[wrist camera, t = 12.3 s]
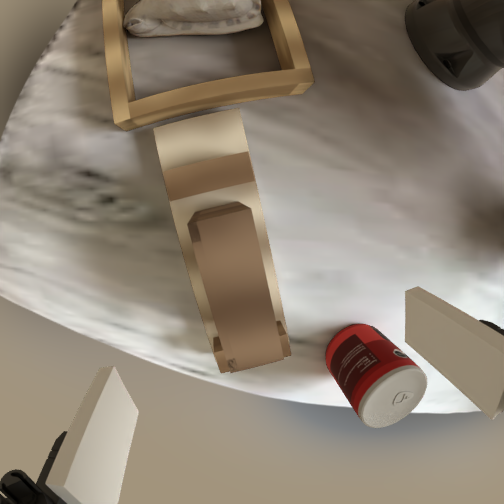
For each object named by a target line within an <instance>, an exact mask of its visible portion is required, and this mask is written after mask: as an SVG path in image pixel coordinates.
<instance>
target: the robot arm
mask: <svg viewBox="0 0 504 504" xmlns="http://www.w3.org/2000/svg"><path fill="white" fill-rule="evenodd" d="M405 21H406V27H407V31H408V34H409V36H410V39H411V41H412V43H413V45H414V47H415V49H416V51H417V52H418V54H419V55H420V57H421V58H422V60H423V61H424V62H425V64H426V65H427V66H428V67H429V69H430V70H431V71H432V72H433V73H434V74H435V75H436V76H437V77H438V78H439V79H440V80H442V81H443V82H444V83H446V84H447V85H449V86H450V87H452V88H454V89H457V90H461V91H467V90H471V89H475V88H478V87H480V86H482V85H483V84H484V83H485V82H486V81H487V80H489V79H490V78H491V77H492V76H493V75H494V74H495V73H497V72H498V71H499V70H500V69H501V68H504V0H416V1H414V2H413V3H412V4H410V5H409V6H408V8H407V10H406V15H405ZM405 342H406V343H407V344H408V345H409V346H410V347H412V348H413V349H414V350H415V351H416V352H417V353H418V354H420V355H421V356H422V357H423V358H424V359H425V360H426V361H428V362H429V363H430V364H431V365H432V366H433V367H434V368H435V369H437V370H438V371H439V372H440V373H441V374H442V375H443V376H444V377H446V378H447V379H448V380H449V381H450V382H451V383H452V384H453V385H454V386H455V387H457V388H458V389H459V390H460V391H461V392H462V393H463V394H464V395H465V396H466V397H468V398H469V399H470V400H471V401H472V402H473V403H474V404H475V405H476V406H477V407H478V408H479V409H481V410H482V411H483V412H484V413H485V414H486V415H487V416H488V417H489V418H490V419H491V420H493V419H494V418H495V417H497V416H498V415H499V414H500V413H501V412H503V411H504V329H501V328H500V327H499V326H497V325H495V324H494V323H492V322H488V321H484V320H479V321H478V320H477V319H475V318H473V317H471V316H470V315H468V314H466V313H465V312H463V311H461V310H459V309H458V308H456V307H454V306H452V305H451V304H449V303H447V302H445V301H444V300H442V299H440V298H438V297H436V296H435V295H433V294H431V293H429V292H427V291H426V290H424V289H422V288H420V287H415V288H412V289H410V290H407V291H405ZM138 413H139V411H138V410H137V408H136V406H135V404H134V403H133V401H132V399H131V397H130V395H129V394H128V392H127V390H126V388H125V386H124V384H123V382H122V380H121V378H120V376H119V374H118V372H117V370H116V368H115V366H110V367H103V368H100V369H99V370H98V372H97V374H96V376H95V378H94V380H93V382H92V384H91V386H90V388H89V389H88V391H87V393H86V395H85V397H84V399H83V401H82V403H81V405H80V407H79V409H78V411H77V413H76V415H75V417H74V419H73V422H72V424H71V426H70V428H69V430H68V432H65V431H64V432H63V433H62V434H61V435H60V436H59V437H58V438H57V439H56V441H55V443H54V445H53V447H52V449H51V450H52V451H51V452H50V453H49V456H48V459H47V460H46V462H45V464H44V467H43V469H42V471H41V473H40V476H39V478H38V481H37V483H36V484H35V483H34V482H33V481H32V480H31V479H30V478H29V477H28V476H27V475H26V473H24V472H23V471H21V470H12V471H9V472H8V473H6V474H5V475H4V476H3V478H2V479H1V481H0V491H1V492H2V493H3V494H4V495H5V496H6V497H7V498H4V497H3V496H2V495H1V494H0V504H118V500H119V496H120V490H121V486H122V481H123V476H124V472H125V467H126V463H127V457H128V454H129V449H130V445H131V441H132V437H133V433H134V429H135V425H136V421H137V417H138Z"/></svg>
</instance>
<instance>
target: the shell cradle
mask: <svg viewBox="0 0 504 504" xmlns="http://www.w3.org/2000/svg"><path fill="white" fill-rule="evenodd" d="M261 4H262V7H263V10H264V13H265V16H266V19H267V23H268V26H269V29H270V32H271V35H272V39H273V42H274V45H275V49H276V52H277V56H278V59H279V63H280V66H281V70H280V71H271V72H263V73H256V74H249V75H242V76H236V77H230V78H225V79H219V80H214V81H209V82H204V83H200V84H195V85H191V86H187V87H182V88H178V89H174V90H171V91H167V92H163V93H160V94H156V95H153V96H149V97H146V98H142V99H139V100H136V99H135V92H134V86H133V80H132V73H131V66H130V58H129V50H128V42H127V33H126V28H123V21H124V18H125V13H124V1H123V0H102V12H103V31H104V45H105V56H106V66H107V75H108V84H109V91H110V99H111V105H112V112H113V118H114V124H115V125H117V126H119V127H120V128H122V129H123V130H125V131H129V130H133V129H136V128H139V127H142V126H145V125H149V124H152V123H156V122H159V121H163V120H166V119H170V118H174V117H178V116H181V115H185V114H190V113H194V112H198V111H202V110H207V109H211V108H216V107H221V106H226V105H231V104H236V103H242V102H248V101H254V100H260V99H266V98H273V97H281V96H289V95H297V94H303V93H304V92H305V91H306V90H307V89H308V88H309V87H310V86H311V85H312V84H313V83H314V82H315V81H314V78H313V74H312V71H311V67H310V64H309V61H308V57H307V54H306V51H305V48H304V44H303V41H302V38H301V35H300V32H299V29H298V26H297V23H296V20H295V18H294V15H293V12H292V9H291V7H290V4H289V1H288V0H261Z"/></svg>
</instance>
